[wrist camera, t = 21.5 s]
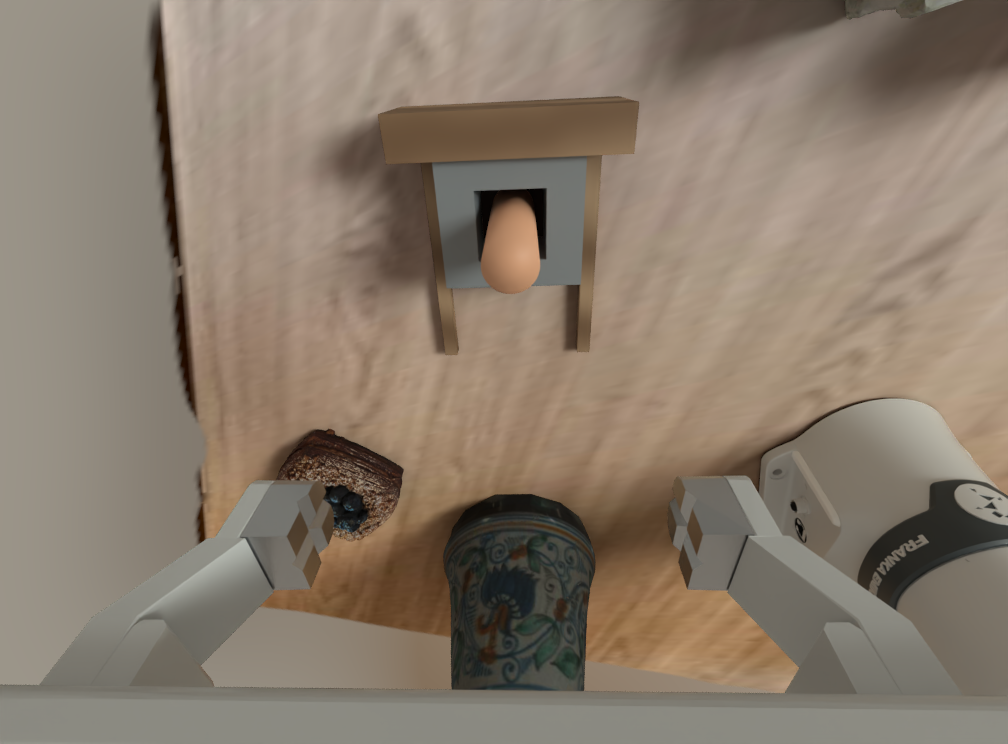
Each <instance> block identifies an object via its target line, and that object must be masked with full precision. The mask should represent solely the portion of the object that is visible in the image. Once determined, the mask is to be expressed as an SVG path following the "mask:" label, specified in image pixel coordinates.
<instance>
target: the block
mask: <svg viewBox="0 0 1008 744" xmlns="http://www.w3.org/2000/svg"><path fill="white" fill-rule="evenodd" d="M432 167H433V176H434V184H435V193H436V201H437V210H438V218H439V227H440V236H441V244H442V253H443V261H444V270H445V278H446V287H447V289H448V288H482V287H491V286H490V285H489V284H488V283H487V282H486V281H485V279H484V277H483V275H482V272H481V258H482V253H483V248H484V243H485V239H486V238H484V236H483V221H482V207H481V192H480V191H484V190H509V189H535V188H543V236H539V237H537V238H538V247H539V257H540V271H539V275H538V277H537V279H536V281H535V282H534V283H533V284H532V285H531V286H550V285H581V270H582V250H583V229H584V209H585V188H586V167H587V156H568V157H544V158H521V159H497V160H474V161H450V162H432Z"/></svg>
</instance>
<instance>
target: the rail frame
mask: <svg viewBox="0 0 1008 744" xmlns="http://www.w3.org/2000/svg"><path fill="white" fill-rule="evenodd" d="M638 109H639V102H637V101H634V100H630V99H627V98H623V97H619V96H617V97H596V98H575V99H555V100H534V101H513V102H492V103H472V104H451V105H430V106H409V107H399V108H396V109H393V110H390V111H387V112H384V113H381V114H378V119H379V125H380V131H381V137H382V143H383V149H384V155H385V161H386V164H403V163H421V169H422V176H423V184H424V192H425V200H426V208H427V215H428V223H429V231H430V239H431V246H432V254H433V262H434V270H435V277H436V285H437V293H438V301H439V308H440V316H441V324H442V332H443V339H444V347H445V355H457V354H458V350H459V347H458V338H457V329H456V320H455V311H454V302H453V293H452V288H448V289H447V287H446V278H445V270H444V261H443V253H442V244H441V236H440V227H439V218H438V210H437V201H436V193H435V184H434V176H433V167H432V162H450V161H474V160H497V159H521V158H544V157H568V156H587V167H586V188H585V209H584V229H583V250H582V270H581V285H579V289H578V311H577V333H576V349H577V352H589V348H590V332H591V317H592V301H593V285H594V270H595V254H596V239H597V223H598V207H599V192H600V176H601V161H602V155H615V154H634V150H635V140H636V129H637V119H638Z"/></svg>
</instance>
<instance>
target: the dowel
mask: <svg viewBox="0 0 1008 744" xmlns="http://www.w3.org/2000/svg"><path fill="white" fill-rule="evenodd" d="M539 271H540V257H539V247H538V238H537V228H536V218H535V209H534V201H533V198H532V196H531V194H530V193H529V192H528V191H527V190H526V189H509V190H500V191H499V192H498V193H497V194H496V196H495V197H494V200H493V204H492V209H491V214H490V219H489V224H488V229H487V234H486V239H485V243H484V248H483V253H482V258H481V272H482V275H483V277H484V279H485V281H486V282H487V283H488V284H489V285H490V286H491V287H492V288H493V289H495V290H497V291H499V292H502V293H506V294H515V293H519V292H522V291H524V290H526V289H528V288H529V287H530V286H531V285H532V284H533V283H534V282H535V281H536V279H537V277H538V275H539Z"/></svg>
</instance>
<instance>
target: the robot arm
mask: <svg viewBox="0 0 1008 744" xmlns="http://www.w3.org/2000/svg"><path fill="white" fill-rule="evenodd" d="M672 490H673V492H674V495H675V498H674V499H673V500H672V501H671V502H669V507H668V513H667V514H668V528H669V534H670V537H671V540H672V544H673V545H674V546H675V547H676V548H677V549H679V550H680V551H681V553H680V557H679V561H678V562H679V565H680V568H681V571H682V574H683V577H684V581H685V584H686V587H687V589H689V590H725V591H728V594H729V595H730V596H731V597H732V598H733V599H734V600H735V601H736V602H737V603H738V604H739V605H740V606H741V607H742V608H743V609H744V610H745V611H746V612H747V614H748V615H749V616H750V617H751V618H752V619H753V620H754V621H755V622H756V623H757V624H758V625H759V626H760V627H761V628H762V629H763V630H764V631H765V632H766V633H767V635H768V636H769V637H770V638H771V639H772V640H773V641H774V642H775V643H776V644H777V645H778V646H779V647H780V648H781V649H782V650H783V651H784V652H785V653H786V654H787V655H788V657H789V658H790V659H791V660H792V661H793V662H794V663H795V664H796V665H797V666H798V667H799V669H798V671H797V673H796V675H795V676H794V678H793V680H792V681H791V683H790V685H789V686H788V688H787V690H786V691H785V693H709V692H708V693H707V692H705V693H704V692H621V691H619V692H618V691H616V692H615V691H538V690H447V689H445V690H444V689H443V690H442V689H352V688H348V689H347V688H344V689H343V688H259V687H258V688H257V687H254V688H253V687H250V688H249V687H214V684H213V681H212V680H211V678H210V677H209V676H208V675H207V673H206V672H205V671H204V670H203V669H202V667H201V665H202V664H203V663H204V662H205V661H206V660H207V659H208V658H209V657H210V656H211V655H212V654H213V653H214V651H216V650H217V649H218V648H219V647H220V646H221V644H223V643H224V642H225V641H226V640H227V639H228V638H229V637H230V636H231V635H232V633H234V632H235V631H236V629H237V628H238V627H239V626H240V625H241V624H242V623H244V621H246V619H247V618H248V617H249V616H250V615H251V614H252V613H253V612H254V611H255V610H256V609H257V608H258V607H259V606H260V605H261V604H262V603H263V602H264V601H265V600H266V599H267V598H268V597H269V596H270V595H271V594H272V593H273V590H295V589H311V587H312V584H313V582H314V580H315V577H316V575H317V572H318V570H319V567H320V565H321V560H320V557H319V555H318V554H319V553H320V552H321V551H322V550H324V549H325V548H326V547H327V546H328V545H329V542H330V540H331V537H332V534H333V527H334V514H333V510H332V507H331V505H330V504H329V503H327V502H326V501H325V500H323V498H324V496H325V493H326V490H325V488H324V486H323V483H322V482H320V481H296V480H276V481H271V480H256V481H254V482H253V483H251V484H250V485H249V486H248V488H247V489H246V491H245V492H244V494H243V495H242V497H241V499H240V500H239V502H238V503H237V505H236V506H235V508H234V509H233V511H232V512H231V514H230V515H229V517H228V518H227V520H226V521H225V523H224V524H223V526H222V528H221V529H220V531H219V532H218V534H217V535H216V537H215V538H208V539H206V540H205V541H203V542H202V543H200V544H199V545H197V546H196V547H194V548H193V549H192V550H190V551H189V552H187V553H186V554H185V555H183V556H181V557H180V558H179V559H177V560H175V561H174V562H172V563H171V564H170V565H168V566H167V567H165V568H164V569H162V570H161V571H159V572H158V573H156V574H155V575H154V576H152V577H150V578H149V579H148V580H146V581H145V582H143V583H142V584H140V585H139V586H137V587H136V588H134V589H133V590H132V591H130V592H129V593H127V594H126V595H124V596H123V597H121V598H120V599H119V600H117V601H115V602H114V603H112V604H111V605H110V606H108V607H106V608H105V609H104V610H102V611H101V612H99V613H98V614H96V615H95V616H93V617H92V618H91V620H90V621H89V622H88V623H87V625H86V626H85V627H84V628H83V630H82V631H81V632H80V634H79V635H78V636H77V637H76V639H75V640H74V641H73V642H72V644H71V645H70V646H69V648H68V649H67V650H66V651H65V653H64V654H63V655H62V657H61V658H60V659H59V661H58V662H57V663H56V664H55V666H54V667H53V668H52V669H51V671H50V672H49V673H48V674H47V676H46V677H45V678H44V680H43V681H42V682H41V684H40V685H0V744H1008V496H1007V495H1006V494H1004V493H1003V492H1001V491H1000V490H999V489H998V487H997V486H996V485H995V484H994V483H993V482H992V481H991V480H990V478H989V477H988V476H987V475H986V474H985V473H984V472H983V471H982V469H981V468H980V467H979V466H978V465H977V464H976V463H975V461H974V460H973V459H972V457H971V455H970V454H969V453H968V452H967V451H966V450H965V448H964V447H963V446H961V444H960V443H959V442H958V440H957V439H956V438H955V436H954V435H953V433H952V432H951V430H950V429H949V427H948V426H947V424H946V422H945V421H944V419H943V417H942V416H941V415H940V414H939V413H938V412H937V411H936V410H935V409H934V408H932V407H930V406H928V405H926V404H924V403H921V402H918V401H914V400H909V399H880V400H873V401H868V402H864V403H860V404H857V405H853V406H850V407H848V408H845V409H843V410H840V411H838V412H836V413H834V414H832V415H830V416H828V417H826V418H824V419H823V420H821V421H820V422H818V423H817V424H815V425H814V426H812V427H811V428H810V429H808V430H807V431H806V432H805V433H803V434H802V435H801V436H799V437H798V438H796V439H795V440H793V441H791V442H788V443H786V444H783V445H781V446H779V447H776V448H774V449H772V450H770V451H769V452H767V453H766V454H765V455H764V456H763V457H762V460H761V470H760V484H759V493H758V492H757V490H756V488H755V487H754V485H753V483H752V481H751V480H750V478H748V477H747V476H746V475H744V476H722V477H721V476H690V477H676V479H675V480H674V484H673V488H672Z"/></svg>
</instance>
